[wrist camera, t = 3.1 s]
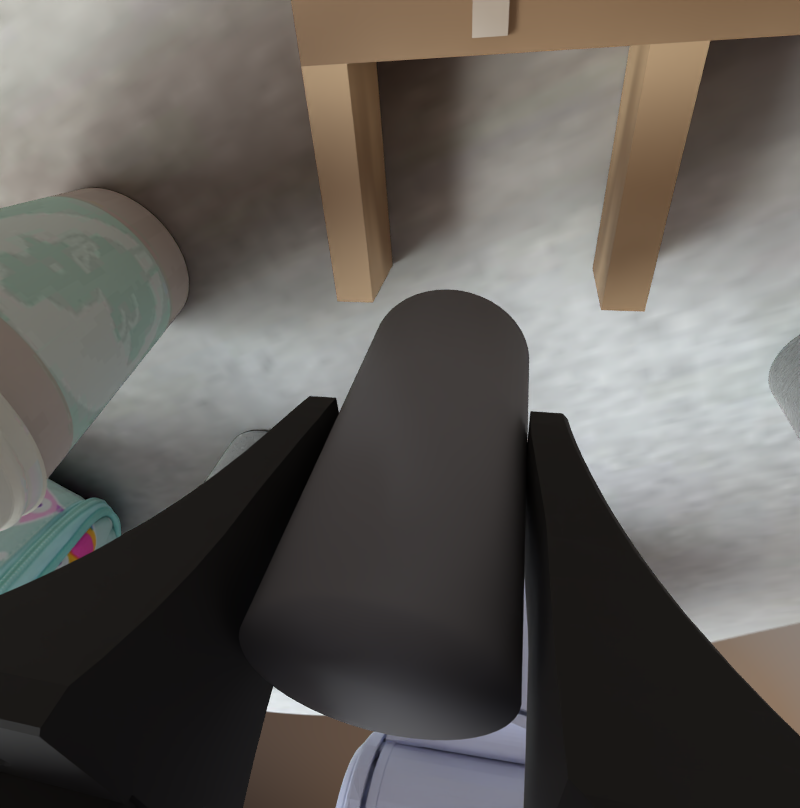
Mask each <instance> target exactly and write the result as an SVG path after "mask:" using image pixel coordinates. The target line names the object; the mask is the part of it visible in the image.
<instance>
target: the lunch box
mask: <svg viewBox="0 0 800 808" xmlns="http://www.w3.org/2000/svg"><path fill="white" fill-rule="evenodd" d="M120 536H121V524H120V520H119V517H118V516H117V515H116V513H114V511H113V510H112V508H111V507H110V506H109V505H108V504H107V503H106V501H105V500H102V499H99V498H95V497H94V498H89V499H86V500H85V499H83V498H82V497H81V496H79V495H77V494H75V493H74V492H72V491H70V490H68V489H66V488H64V487H62V486H60V485H59V484H57V483H55V482H53V481H52V480H50V479H47V488H46V493H45V496H44V499H43V501H42V502H41V504H40V505H39V506H38V507H37V508H36V509H35V510H34V511H32V512H30V513H29V514H27V515H24V516H22V517H21V518H20V520H19V521H18V522H17V523H15V524H14V525H13V526H11V527H10V528H8V529H6V530H3V531H0V595H1V594H3V593H5V592H8V591H10V590H13V589H15V588H17V587H20V586H22V585H24V584H26V583H29V582H31V581H33V580H35V579H37V578H40V577H42V576H44V575H46V574H48V573H50V572H52V571H54V570H56V569H59V568H61V567H63V566H65V565H67V564H69V563H71V562H73V561H75V560H77V559H79V558H81V557H83V556H85V555H87V554H89V553H91V552H93V551H95V550H96V549H98V548H100V547H102V546H104V545H105V544H107V543H109V542H111V541H113V540H114V539H116V538H118V537H120Z"/></svg>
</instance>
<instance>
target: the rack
mask: <svg viewBox="0 0 800 808" xmlns="http://www.w3.org/2000/svg"><path fill="white" fill-rule="evenodd" d="M291 4H292V10H293V16H294V23H295V29H296V36H297V42H298V49H299V55H300V62H301V68H302V75H303V81H304V88H305V94H306V100H307V107H308V113H309V120H310V126H311V133H312V139H313V146H314V152H315V159H316V165H317V171H318V178H319V184H320V191H321V197H322V204H323V210H324V217H325V223H326V230H327V236H328V243H329V249H330V255H331V262H332V268H333V275H334V281H335V288H336V294H337V301H343V302H373V301H374V299H375V298H376V296H377V294H378V292H379V290H380V288H381V286H382V284H383V282H384V281H385V279H386V277H387V275H388V273H389V271H390V269H391V267H392V265H393V263H392V250H391V238H390V225H389V213H388V200H387V188H386V176H385V163H384V151H383V138H382V126H381V113H380V101H379V88H378V76H377V63H376V62H380V61H396V60H412V59H428V58H443V57H459V56H475V55H491V54H506V53H522V52H538V51H554V50H569V49H585V48H601V47H617V46H630V48H629V54H628V60H627V66H626V72H625V78H624V84H623V90H622V96H621V102H620V108H619V114H618V120H617V126H616V132H615V138H614V144H613V150H612V156H611V162H610V168H609V174H608V180H607V186H606V192H605V198H604V204H603V210H602V216H601V222H600V228H599V234H598V240H597V246H596V252H595V258H594V264H593V272H594V277H595V282H596V287H597V292H598V297H599V302H600V307H601V310H617V311H645V307H646V303H647V299H648V295H649V291H650V287H651V282H652V278H653V274H654V270H655V266H656V262H657V258H658V254H659V250H660V245H661V241H662V237H663V233H664V229H665V225H666V221H667V217H668V212H669V208H670V204H671V200H672V196H673V192H674V188H675V184H676V180H677V175H678V171H679V167H680V163H681V159H682V155H683V151H684V147H685V143H686V138H687V134H688V130H689V126H690V122H691V118H692V114H693V110H694V106H695V101H696V97H697V93H698V89H699V85H700V81H701V77H702V73H703V69H704V64H705V60H706V56H707V52H708V48H709V44H710V41H711V40H727V39H743V38H758V37H774V36H790V35H800V0H291Z"/></svg>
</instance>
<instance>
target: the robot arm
mask: <svg viewBox="0 0 800 808" xmlns="http://www.w3.org/2000/svg"><path fill="white" fill-rule="evenodd" d="M338 414H339V411H338V406H337V400H336V398H328V397H313V396H309V397H308V398H307V399H306V400H304V401H303V402H302V403H301V404H300V405H298V406H297V407H296V408H295V409H294V410H293V411H291V412H290V413H289V414H288V415H287V416H286V417H285V418H283V419H282V420H281V421H280V422H279V423H278V424H277V425H275V426H274V427H273V428H272V429H271V430H270V431H268V432H267V433H266V434H265V435H264V436H262V437H261V438H260V439H259V440H258V441H257V442H255V443H254V444H253V445H252V446H251V447H249V448H248V449H247V450H246V451H245V452H243V453H242V454H241V455H240V456H239V457H237V458H236V459H235V460H233V461H232V462H231V463H229V464H228V465H227V466H225V467H224V468H223V469H222V470H220V471H219V472H218V473H216V474H215V475H214V476H212V477H211V478H210V479H209V480H207V481H206V482H205V483H203V484H202V485H201V486H199V487H198V488H196V489H195V490H194V491H192V492H191V493H189V494H188V495H186V496H185V497H183V498H182V499H181V500H179V501H178V502H176V503H174V504H173V505H171V506H170V507H168V508H167V509H165V510H164V511H162V512H160V513H159V514H157V515H156V516H154V517H153V518H151V519H149V520H148V521H146V522H144V523H143V524H141V525H139V526H137V527H136V528H134V529H132V530H130V531H128V532H127V533H125V534H123V535H121V536H120V537H118V538H116V539H114V540H113V541H111V542H109V543H107V544H105V545H104V546H102V547H100V548H98V549H96V550H95V551H93V552H91V553H89V554H87V555H85V556H83V557H81V558H79V559H77V560H75V561H73V562H71V563H69V564H67V565H65V566H63V567H61V568H59V569H56V570H54V571H52V572H50V573H48V574H46V575H44V576H42V577H40V578H37V579H35V580H33V581H31V582H29V583H26V584H24V585H22V586H20V587H17V588H15V589H13V590H10V591H8V592H5V593H3V594H1V595H0V808H243V804H244V800H245V796H246V791H247V787H248V783H249V779H250V774H251V769H252V765H253V761H254V757H255V753H256V749H257V745H258V741H259V738H260V734H261V730H262V726H263V722H264V718H265V714H266V710H267V706H268V703H269V699H270V695H271V692H272V688H273V685H271V684H270V683H269V682H267V681H266V680H265V679H264V678H263V677H262V676H261V675H260V674H259V673H258V672H257V671H256V670H255V669H254V668H253V667H252V665H251V664H250V663H249V662H248V660H247V658H246V657H245V655H244V654H243V651H242V649H241V646H240V641H239V630H240V627H241V625H242V622H243V620H244V618H245V616H246V614H247V611H248V609H249V607H250V605H251V603H252V601H253V598H254V596H255V594H256V592H257V590H258V588H259V585H260V583H261V581H262V579H263V577H264V575H265V572H266V570H267V568H268V566H269V564H270V562H271V559H272V557H273V555H274V553H275V551H276V549H277V546H278V544H279V542H280V540H281V538H282V536H283V533H284V531H285V529H286V527H287V525H288V523H289V520H290V518H291V516H292V514H293V512H294V510H295V507H296V505H297V503H298V501H299V499H300V497H301V494H302V492H303V490H304V488H305V486H306V484H307V482H308V479H309V477H310V475H311V473H312V471H313V469H314V466H315V464H316V462H317V460H318V458H319V456H320V453H321V451H322V449H323V447H324V445H325V443H326V440H327V438H328V436H329V434H330V432H331V430H332V427H333V425H334V423H335V421H336V419H337V417H338ZM336 808H800V736H799V735H798V734H797V733H796V732H795V731H794V730H793V729H792V728H791V727H790V726H789V725H788V724H787V723H786V722H785V721H784V720H783V719H782V718H781V717H780V716H779V715H778V714H777V713H776V712H775V711H774V710H773V709H772V708H771V707H770V706H769V705H768V704H767V703H766V702H765V701H764V700H763V699H762V698H761V697H760V696H759V695H758V694H757V692H756V691H754V689H753V688H752V687H751V686H750V685H749V684H748V683H747V682H746V681H745V680H744V679H743V678H742V677H741V676H740V675H739V674H738V673H737V672H736V671H735V670H734V668H733V667H732V666H731V665H730V664H729V663H728V662H727V661H726V659H725V658H724V657H723V656H722V655H721V654H720V653H719V651H718V650H717V649H716V648H715V647H714V646H713V645H712V644H711V642H710V641H709V640H708V639H707V638H706V637H705V636H704V634H703V633H702V632H701V631H700V630H699V629H698V628H697V627H696V625H695V624H694V623H693V622H692V621H691V620H690V619H689V617H688V616H687V615H686V614H685V613H684V612H683V610H682V609H681V608H680V607H679V605H678V604H677V603H676V602H675V600H674V599H673V598H672V596H671V595H670V594H669V593H668V591H667V590H666V589H665V588H664V586H663V585H662V584H661V583H660V581H659V580H658V578H657V577H656V576H655V574H654V573H653V572H652V570H651V569H650V568H649V566H648V565H647V564H646V562H645V561H644V560H643V558H642V557H641V555H640V554H639V552H638V551H637V550H636V548H635V547H634V545H633V544H632V542H631V541H630V539H629V538H628V536H627V535H626V533H625V531H624V530H623V528H622V527H621V525H620V524H619V522H618V520H617V519H616V517H615V516H614V514H613V512H612V511H611V509H610V507H609V506H608V504H607V502H606V501H605V499H604V497H603V495H602V493H601V491H600V490H599V488H598V486H597V484H596V482H595V480H594V479H593V477H592V475H591V473H590V471H589V469H588V467H587V465H586V463H585V461H584V459H583V457H582V455H581V452H580V450H579V448H578V446H577V443H576V441H575V439H574V436H573V434H572V431H571V428H570V425H569V422H568V419H567V418H566V417H565V416H564V415H563V414H562V413H547V412H533V411H531V413H530V422H529V432H528V442H527V478H526V524H525V570H524V616H523V662H522V705H521V708H520V711H519V713H518V715H517V716H516V718H515V719H514V720H513V721H512V722H511V723H510V724H508V725H507V726H506V727H504V728H502V729H500V730H498V731H496V732H493V733H491V734H488V735H484V736H480V737H476V738H469V739H462V740H424V739H414V738H406V737H399V736H394V735H388V734H383V733H379V732H373V733H372V734H371V735H370V736H369V737H368V738H367V740H366V741H365V742H364V743H363V744H362V745H361V746H360V747H359V748H358V749H357V751H356V752H355V754H354V756H353V758H352V759H351V761H350V764H349V766H348V768H347V771H346V774H345V777H344V780H343V783H342V786H341V790H340V793H339V797H338V801H337V805H336Z"/></svg>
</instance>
